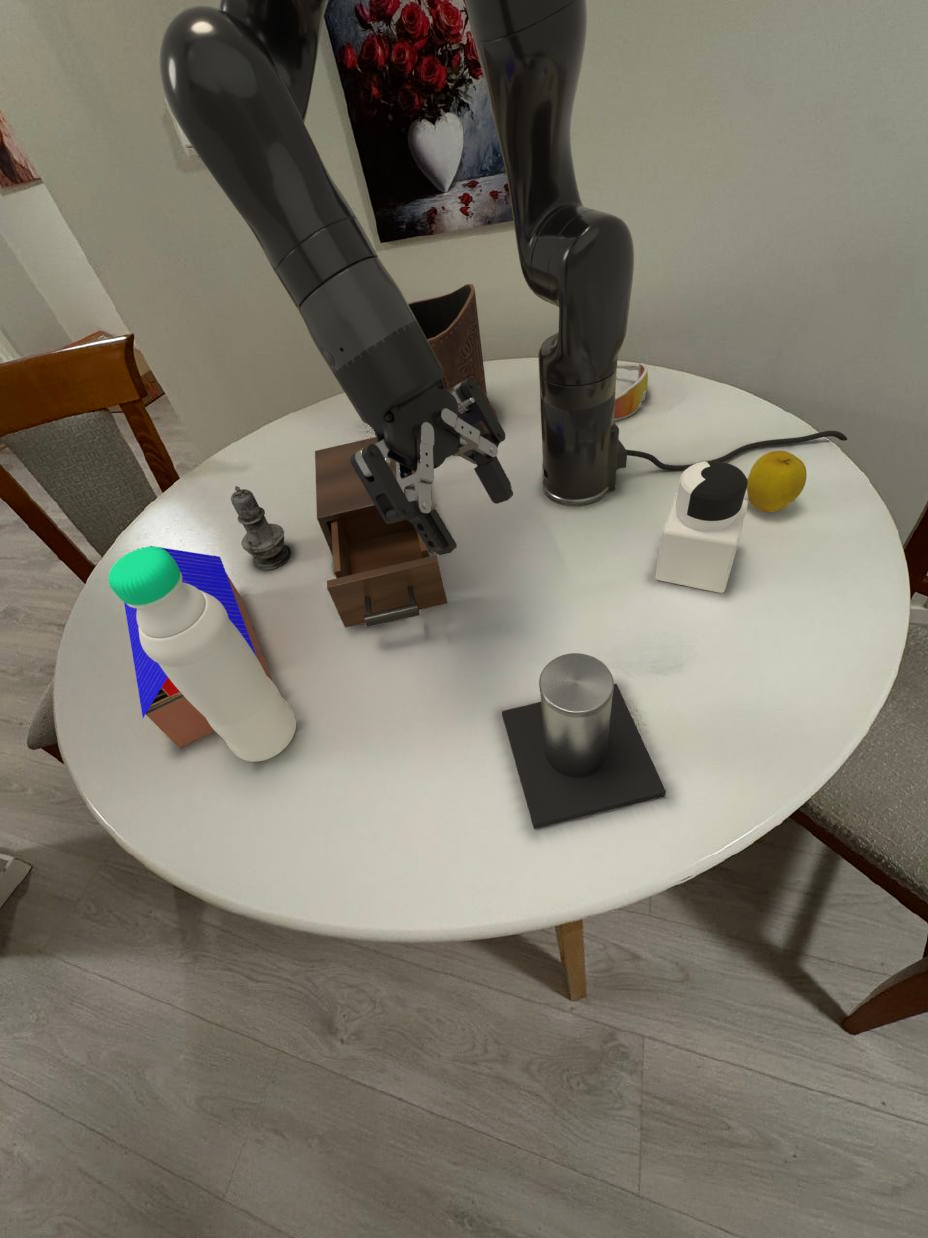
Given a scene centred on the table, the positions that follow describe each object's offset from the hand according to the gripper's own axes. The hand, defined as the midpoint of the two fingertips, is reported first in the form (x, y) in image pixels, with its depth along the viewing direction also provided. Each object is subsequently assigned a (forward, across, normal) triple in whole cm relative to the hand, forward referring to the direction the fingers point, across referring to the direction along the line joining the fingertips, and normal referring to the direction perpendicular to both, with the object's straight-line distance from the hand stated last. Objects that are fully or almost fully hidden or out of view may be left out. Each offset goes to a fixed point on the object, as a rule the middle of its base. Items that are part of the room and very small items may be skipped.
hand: (477, 524), depth 50 cm
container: (+22, +25, -2) cm, 33 cm away
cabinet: (+1, +14, +33) cm, 36 cm away
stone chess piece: (-3, +1, +42) cm, 42 cm away
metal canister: (+22, -4, -1) cm, 23 cm away
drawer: (+6, +4, +24) cm, 25 cm away
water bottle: (+9, -19, +25) cm, 32 cm away
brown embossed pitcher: (-5, +37, +40) cm, 55 cm away
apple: (+23, +39, -6) cm, 45 cm away
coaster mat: (+23, -4, -1) cm, 24 cm away
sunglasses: (+5, +55, +20) cm, 59 cm away
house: (+2, -16, +36) cm, 39 cm away
